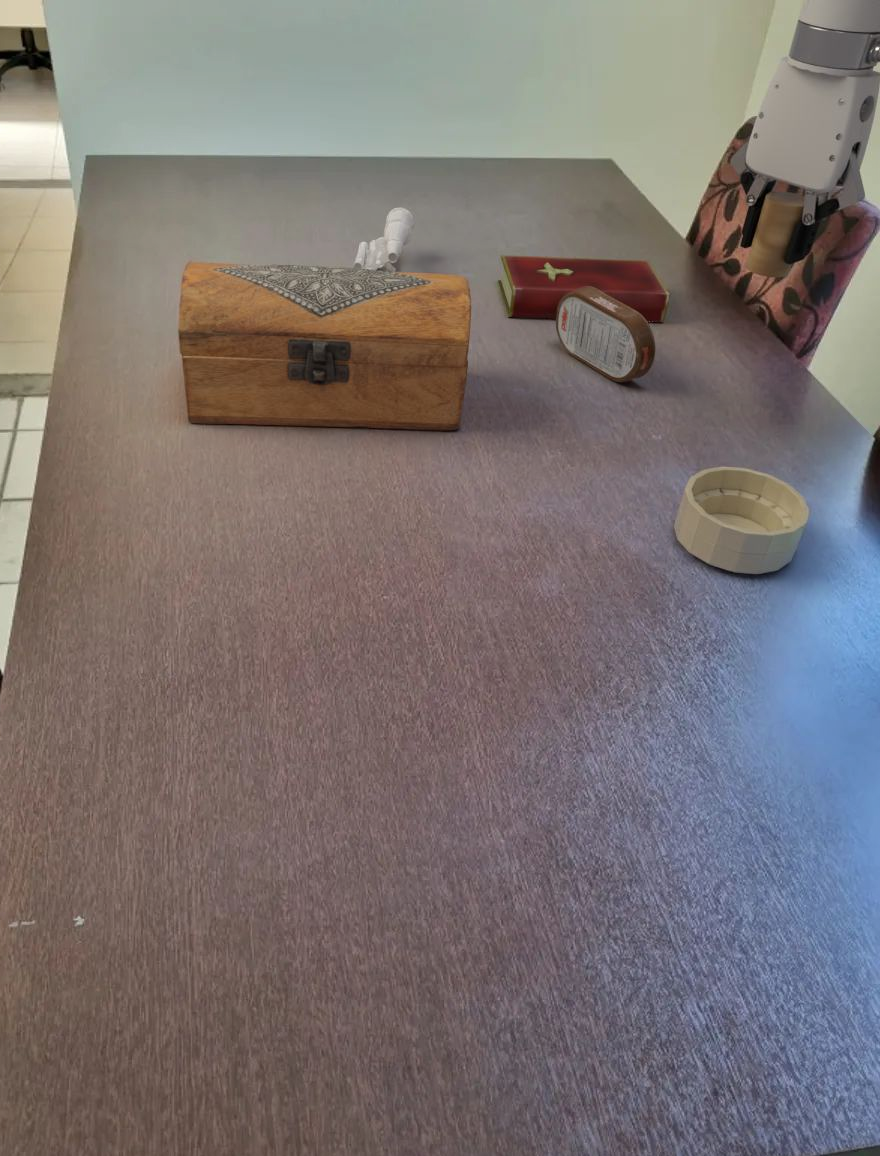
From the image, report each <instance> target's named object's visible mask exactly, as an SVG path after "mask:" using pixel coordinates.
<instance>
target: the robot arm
mask: <svg viewBox="0 0 880 1156" xmlns="http://www.w3.org/2000/svg"><path fill="white" fill-rule="evenodd" d="M879 63H880V0H803V1H802V5H801V9H800V12H799V16H798V20H797V23H796V27H795V30H794V34H793V37H792V40H791V44H790V48H789V52H788V55H787V56H783V57H781V59H780V61H779V63H778V65H777V66H776V69H775V71H774V74H773V75H772V77H771V80H770V82H769V84H768V86H767V89H766V92H765V94H764V96H763V99H762V102H761V104H760V107H759V109H758V112H757V115H756V118H755V121H754V124H753V128H752V130H751V134H750V137H749V139H748V140H747V141H746V142H745V143H744V144H743V145H742V146H740V148H739V149H738V150H737V151H736V152H735V153H734V154H733V155H732V156H731V157H730V160H729V161H730V166H731V167H732V168H733V170H734V171H735V173H736V175H737V176H738V177H739V182H740V184H741V186H742V189H743V191H744V194H745V199H744V200H745V204H746V205H747V207H748V208H747V211H746V214H745V218H744V222H743V225H742V229H741V235H742V238H741V240H740V245H739V246H740V248H743V249H749V248H751V245H752V242H753V238H754V235H755V231H756V228H757V225H758V221H759V218H760V214H761V211H762V207H763V204H764V200H765V197H766V195H767V194H768V193H770V192H775V190H776V188H777V185H778V184H779V182H781V183H784V184H787V185H791V186H794V187H797V188H800V189H803V190H804V196H805V197H804V207H803V216H802V219H801V221H800V222H797V223H796V224H795V225H794V228H793V231H792V234H791V238H790V241H789V244H788V247H787V250H786V254H785V257H784V261H785V263H786V264H789V265H790V264H792V265H793V264H796V263H798V262H801V261H804V260H805V258H806V257H807V256H809V255H810V253H811V251H812V248H813V246H814V242H815V239H816V236H817V234H818V230H819V228H820V224H821V222H822V221H824V220H827V218H829V217H831V216H833V215H834V214H836V213H837V212H839V211H841V210H843V209H845V208H848V207H850V206H852V205H855V204H857V203H860V202H862V201H864V199H865V197H866V192H865V188H864V184H863V178H862V175H861V171H860V170H861V168H862V164H863V161H864V157H865V154H866V151H867V146H868V144H869V141H870V135H871V131H872V129H873V124H874V120H875V114H876V110H877V106H878V105H877V104H878V99H879V93H880V72H879V71H876V70H874V67H876V66H877V65H878V64H879ZM836 187H842V188H843V189H842V193H841V194H839V195H837V196H834V197H831V196H832V191H833V190H834V189H835V188H836Z"/></svg>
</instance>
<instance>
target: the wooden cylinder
mask: <svg viewBox="0 0 880 1156" xmlns="http://www.w3.org/2000/svg"><path fill="white" fill-rule="evenodd" d="M804 197H805V195H803V194H799V193H795V192H791V191H790V192H789V191H774V192H770V193H768V194H767V195H766V197H765V200H764V204H763V207H762V211H761V214H760V218H759V221H758V225H757V228H756V231H755V235H754V238H753V242H752V245H751V247H750V249H749V253H748V256H747V258H746V259H747V260H746V263H745V268H746V269H747V270H748V271H749V272H751V273H753V274H755V275H757V276H762V277H766V278H783V277H786V276H788V275H789V274H790V271H791V268H792V265H793V264H790V265H789V264H786V263H785V261H784V257H785V254H786V250H787V247H788V244H789V241H790V238H791V234H792V231H793V228H794V225H795V224H796V223H797V222H800V221H801V219H802V216H803V207H804Z"/></svg>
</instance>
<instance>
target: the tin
mask: <svg viewBox="0 0 880 1156" xmlns="http://www.w3.org/2000/svg"><path fill="white" fill-rule="evenodd" d="M555 330H556V334H557V337H558V339H559V342H560V344H561V345H562V347H563V348H564V350H565V351H566V352H567V353H568V354H569V355H570V356H572V357H573V358H575V359H577V360H578V361H580V362H581V363H583V364H585V365H586V366H588V367H589V368H591V369H593V370H594V371H596V372H597V373H599V374H601V375H603V376H604V377H606V378H607V379H609V380H610V381H613V382H615V383H626V382H629V381H632V380H635V379H640V378H643V377H644V376H646V375H647V373H648V372H649V371H650V370H651V368H652V366H653V364H654V361H655V357H656V340H655V335H654V332H653V330H652V328H651V326H650V324H649V322H647V321H646V319H645V318H644V317H643V316H642V315H641V314H640V313H639V312H637V311H636V310H634V309H632V308H630V307H628V306H626V305H625V304H623V303H621V302H619V301H617V300H615V299H614V298H612V297H610V296H608V295H606V294H605V293H603V292H601V291H599V290H598V289H596V288H594V287H590V286H585V287H581V288H579V289H578V290H575V291H572V292H570V293H568V294H566V295H565V296H564V297H562V299H561V300H560V302H559V304H558V308H557V314H556V319H555Z"/></svg>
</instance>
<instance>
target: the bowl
mask: <svg viewBox="0 0 880 1156" xmlns="http://www.w3.org/2000/svg"><path fill="white" fill-rule="evenodd" d="M810 513H811V510H810V508H809V505H808V503H807V501H806V499H805V497H804V496H803V495H802V494H801V493H800V492H799V491H797V490H796V489H795V488H794V487H793V486H792V485H791V484H790V483H787V482H786V481H783V480H782V479H779V478H777V477H775V476H774V475H772V474H769V473H765V472H763V471H758V470H754V469H751V468H748V467H737V466H718V467H710V468H705V469H702V470H700V471H699V472H697V473H695V474H693V475H691V476H690V477H689V479H688V481H687V483H686V485H685V487H684V490H683V493H682V497H681V500H680V503H679V507H678V509H677V514H676V517H675V521H674V523H673V529H674V532H675V537H676V539H677V541H678V542H679V543H680V544H681V545H682V546H683V548H684V549H685V550H686V551H687V552H688V553H689V554H691V555H692V556H694V557H696V558H697V559H700V560H701V561H702V562H705V563H706V564H708V565H710V566H713V567H716V568H719V569H722V570H726V571H728V572H732V573H739V574H748V575H749V574H750V575H751V574H752V575H760V574H765V573H770V572H772V573H773V572H777V571H779V570H781V569H782V568H783V567H785V566H786V565H788V564H789V563H790V562H791V561H792V560H793V558H794V555H795V553H796V551H797V548H798V545H799V543H800V541H801V538H802V535H803V533H804V530H805V528H806V525H807V523H808V521H809V517H810Z"/></svg>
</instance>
